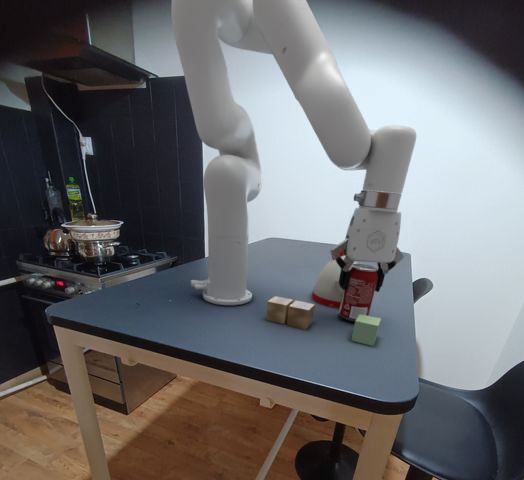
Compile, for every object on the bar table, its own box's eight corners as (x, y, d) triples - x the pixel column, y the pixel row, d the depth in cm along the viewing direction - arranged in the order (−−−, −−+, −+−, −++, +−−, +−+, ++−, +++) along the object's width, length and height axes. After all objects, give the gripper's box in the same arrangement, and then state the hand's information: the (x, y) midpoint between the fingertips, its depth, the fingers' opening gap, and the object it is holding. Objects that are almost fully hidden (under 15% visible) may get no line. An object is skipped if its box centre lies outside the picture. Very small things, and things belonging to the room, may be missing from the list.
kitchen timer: (369, 310, 81) (383, 249, 74) (315, 306, 81) (325, 245, 74) (356, 293, 93) (367, 240, 86) (309, 290, 93) (317, 236, 86)
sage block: (350, 340, 64) (355, 320, 62) (355, 333, 68) (359, 313, 65) (373, 346, 62) (378, 325, 60) (376, 338, 66) (381, 318, 64)
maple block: (265, 319, 71) (267, 301, 69) (273, 313, 74) (275, 295, 72) (284, 324, 69) (286, 305, 67) (291, 318, 73) (293, 299, 71)
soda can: (368, 325, 71) (382, 272, 66) (337, 320, 72) (349, 268, 66) (365, 314, 77) (378, 265, 71) (337, 310, 78) (348, 261, 72)
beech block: (286, 325, 69) (288, 305, 67) (293, 318, 72) (295, 300, 70) (305, 329, 67) (308, 310, 65) (312, 322, 71) (314, 304, 69)
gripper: (342, 199, 59) (325, 292, 67) (430, 207, 61) (403, 296, 69) (331, 197, 65) (317, 282, 74) (411, 204, 67) (388, 286, 76)
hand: (359, 288), depth 71 cm, fingers closed on soda can, 6 cm apart
